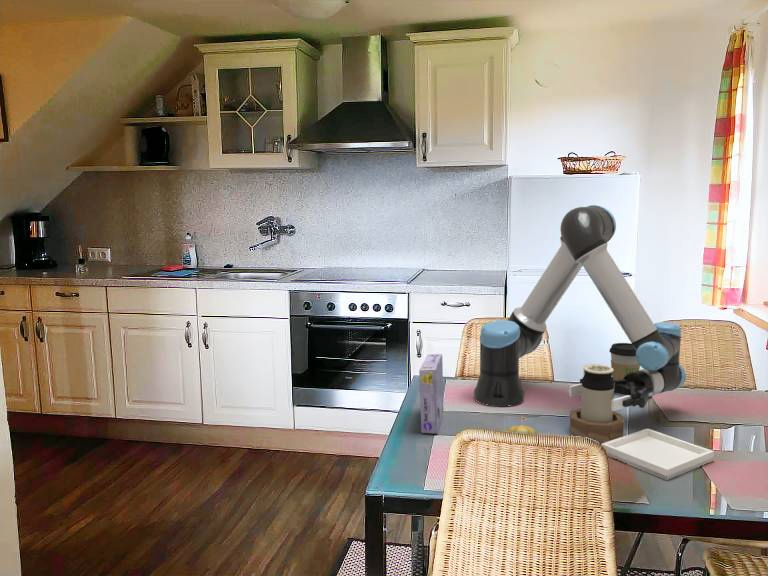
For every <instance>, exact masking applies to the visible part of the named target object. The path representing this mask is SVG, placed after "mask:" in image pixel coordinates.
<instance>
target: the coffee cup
mask: <svg viewBox="0 0 768 576" xmlns="http://www.w3.org/2000/svg"><path fill="white" fill-rule="evenodd" d="M609 353H610V358H611V359H610V367H611V368H613V369H614V371H613V372H612V377H613V380H620V379H623V378H624V377H625V376H626V375H627V374H628V373H631V372H635V371H639V370H641V369H640V367H641V366H640V365H639V364H638V362H637V360H636V350H635V348H634V346H633V345H632V343H631V342H616V343H613V344H611V347H610V348H609ZM614 388H615V385H614ZM615 394H616V395H618V396H621V397H623V396H627V395H624V394H619V393H614V395H615Z"/></svg>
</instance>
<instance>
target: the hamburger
mask: <svg viewBox="0 0 768 576" xmlns="http://www.w3.org/2000/svg"><path fill="white" fill-rule="evenodd" d="M520 419H521V420H520V421H521V424H520V425H519V424H517V425H514V426H511V427H509V428H507V429H506V431H509V432H517V433H527V434H538V432H537V431H536V430H535V429H534V428H532V427H531V426H527V425H522V423H523V422H524V421H527V420H528V418H526V417H525V416H522V415H521V416H520Z"/></svg>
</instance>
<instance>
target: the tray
mask: <svg viewBox="0 0 768 576" xmlns="http://www.w3.org/2000/svg"><path fill="white" fill-rule="evenodd" d="M601 445H602V446H603V447H604V448H605V449H606V450H607V453H608V456H609V457H608V456H607V457H608V458H611V457H613V458H615V459H618V460H620V461H622V462H621V463H623V462H624V463H623V464H625V463H627V464H626V465H628V466H631V467H632V468H636V469H638V470H641V471H643V472H645V473H648V474H650V475H652V476H655V477H657V478H660V479H663V480H665V481H669V480H671V479H674V478H676V477H679V476H682V475H683V474H687V473H688V472H691V471H694V470H696V469H698V468H700V466H701V467H703V466H705V465H704V464H706V463H707V462H710V461H712V460H713V461H714V458H715V457H714V456H715V450H711V449H709V448H705V447H703V446H700V445H697V444H693V443H691V442H688V441H684V440H682V439H680V438H676V437H674V436H671V435H668V434H665V433H663V432H659V431H656V430H653V429H650V428H649V427H648V428H645V429H641V430H638V431H636V432H632V433H630V434H627V435H623V437H620V438H617V439H614V440H611V441H608V442H605V443H602V444H600V446H601ZM613 458H612V459H613ZM615 459H614V460H615ZM618 460H617V461H618ZM620 461H619V462H620ZM702 465H703V466H702ZM706 465H707V464H706Z"/></svg>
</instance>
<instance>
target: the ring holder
mask: <svg viewBox="0 0 768 576" xmlns="http://www.w3.org/2000/svg"><path fill="white" fill-rule="evenodd" d="M624 427H625V420H624V418H623V415H622V414H621V413H619V412H616V411H613V420H612V422H610V423H592V422H588V421H585V420H582V419H581V407H580V408H577V409H574V410H571V411H569V434H570V436H571V435H573V436H581V437H588V438H591V439H593V440H596V441H598V442H599V443H605V442H608V441H611V440H614V439H617V438H620V437H623V436H624V432H625V431H624V429H625V428H624Z"/></svg>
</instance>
